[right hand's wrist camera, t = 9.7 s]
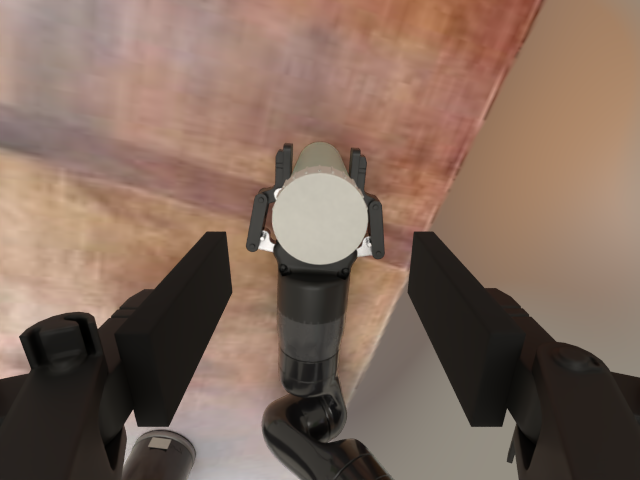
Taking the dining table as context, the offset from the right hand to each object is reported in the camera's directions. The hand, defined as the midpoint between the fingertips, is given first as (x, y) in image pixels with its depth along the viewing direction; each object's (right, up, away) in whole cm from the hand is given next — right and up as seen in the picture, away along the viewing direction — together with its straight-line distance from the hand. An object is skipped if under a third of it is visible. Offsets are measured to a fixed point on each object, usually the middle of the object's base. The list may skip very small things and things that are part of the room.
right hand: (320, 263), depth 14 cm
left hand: (0, +9, +17) cm, 20 cm away
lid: (0, +2, +5) cm, 6 cm away
